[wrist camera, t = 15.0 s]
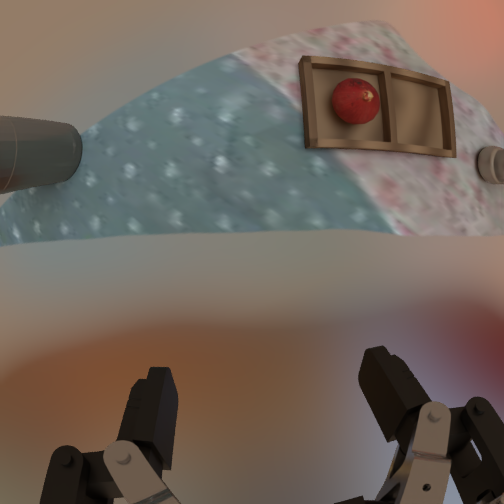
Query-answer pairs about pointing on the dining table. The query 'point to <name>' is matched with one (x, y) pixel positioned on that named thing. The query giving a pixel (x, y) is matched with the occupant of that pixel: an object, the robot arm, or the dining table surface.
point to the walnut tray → (390, 113)
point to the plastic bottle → (492, 164)
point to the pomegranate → (355, 101)
